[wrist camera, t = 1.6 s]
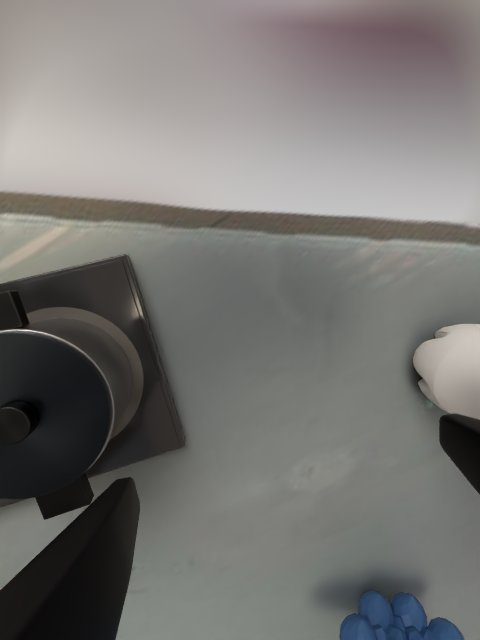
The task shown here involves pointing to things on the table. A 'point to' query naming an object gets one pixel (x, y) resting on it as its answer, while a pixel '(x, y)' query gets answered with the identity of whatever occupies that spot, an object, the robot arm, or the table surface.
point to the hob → (133, 337)
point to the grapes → (395, 620)
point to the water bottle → (452, 369)
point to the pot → (56, 405)
